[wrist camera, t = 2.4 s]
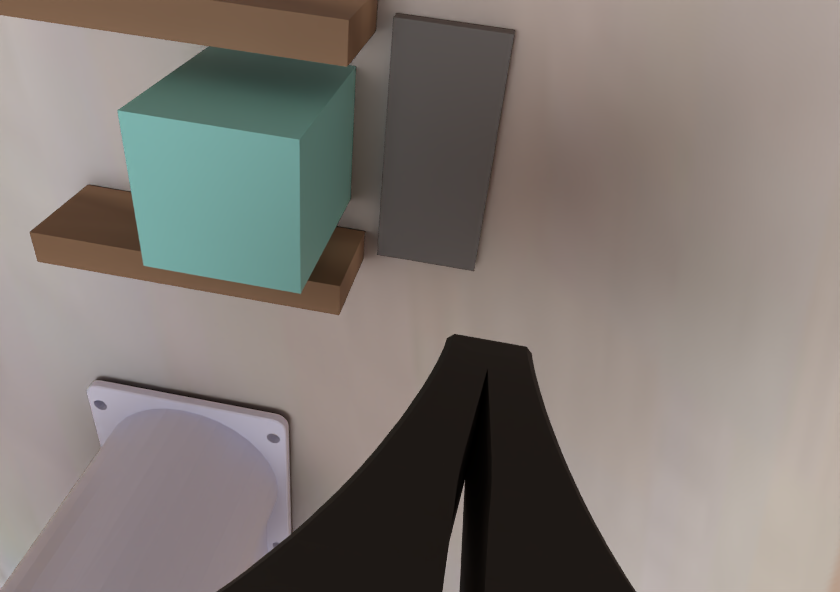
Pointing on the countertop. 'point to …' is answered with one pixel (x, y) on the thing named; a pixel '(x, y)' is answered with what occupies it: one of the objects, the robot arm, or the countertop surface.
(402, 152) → the mat
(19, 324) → the countertop surface
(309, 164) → the block
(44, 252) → the channel
